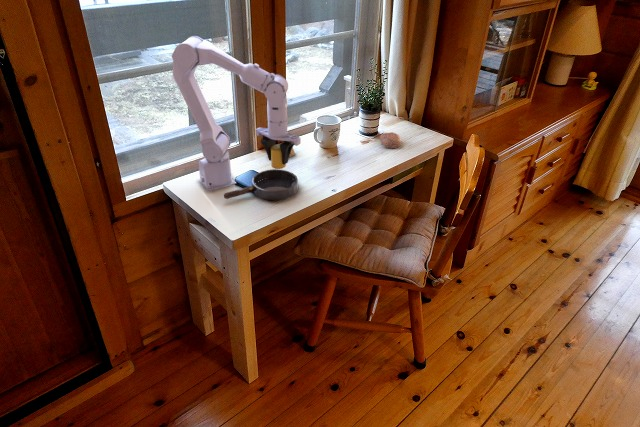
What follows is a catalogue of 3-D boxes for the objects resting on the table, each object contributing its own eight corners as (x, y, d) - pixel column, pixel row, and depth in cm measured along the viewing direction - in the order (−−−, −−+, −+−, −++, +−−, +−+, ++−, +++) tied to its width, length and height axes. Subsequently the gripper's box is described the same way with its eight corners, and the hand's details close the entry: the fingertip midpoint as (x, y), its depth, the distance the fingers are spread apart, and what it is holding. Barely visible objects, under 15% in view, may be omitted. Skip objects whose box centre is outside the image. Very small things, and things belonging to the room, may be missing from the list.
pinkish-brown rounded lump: (373, 141, 180) (382, 144, 173) (380, 126, 179) (389, 129, 172) (389, 149, 183) (398, 152, 176) (396, 134, 182) (406, 137, 175)
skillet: (265, 206, 140) (264, 195, 138) (245, 185, 150) (244, 175, 148) (305, 194, 146) (305, 184, 144) (284, 175, 156) (284, 165, 154)
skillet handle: (225, 200, 139) (224, 195, 138) (222, 197, 140) (222, 192, 139) (258, 191, 144) (258, 186, 143) (256, 188, 145) (255, 183, 144)
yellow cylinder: (275, 170, 143) (274, 150, 140) (268, 164, 146) (268, 144, 143) (288, 166, 145) (287, 147, 142) (281, 161, 148) (281, 141, 145)
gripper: (305, 119, 138) (305, 161, 145) (264, 110, 143) (266, 151, 151) (293, 128, 133) (293, 171, 140) (250, 117, 138) (253, 159, 146)
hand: (278, 161), depth 145 cm, fingers closed on yellow cylinder, 4 cm apart
